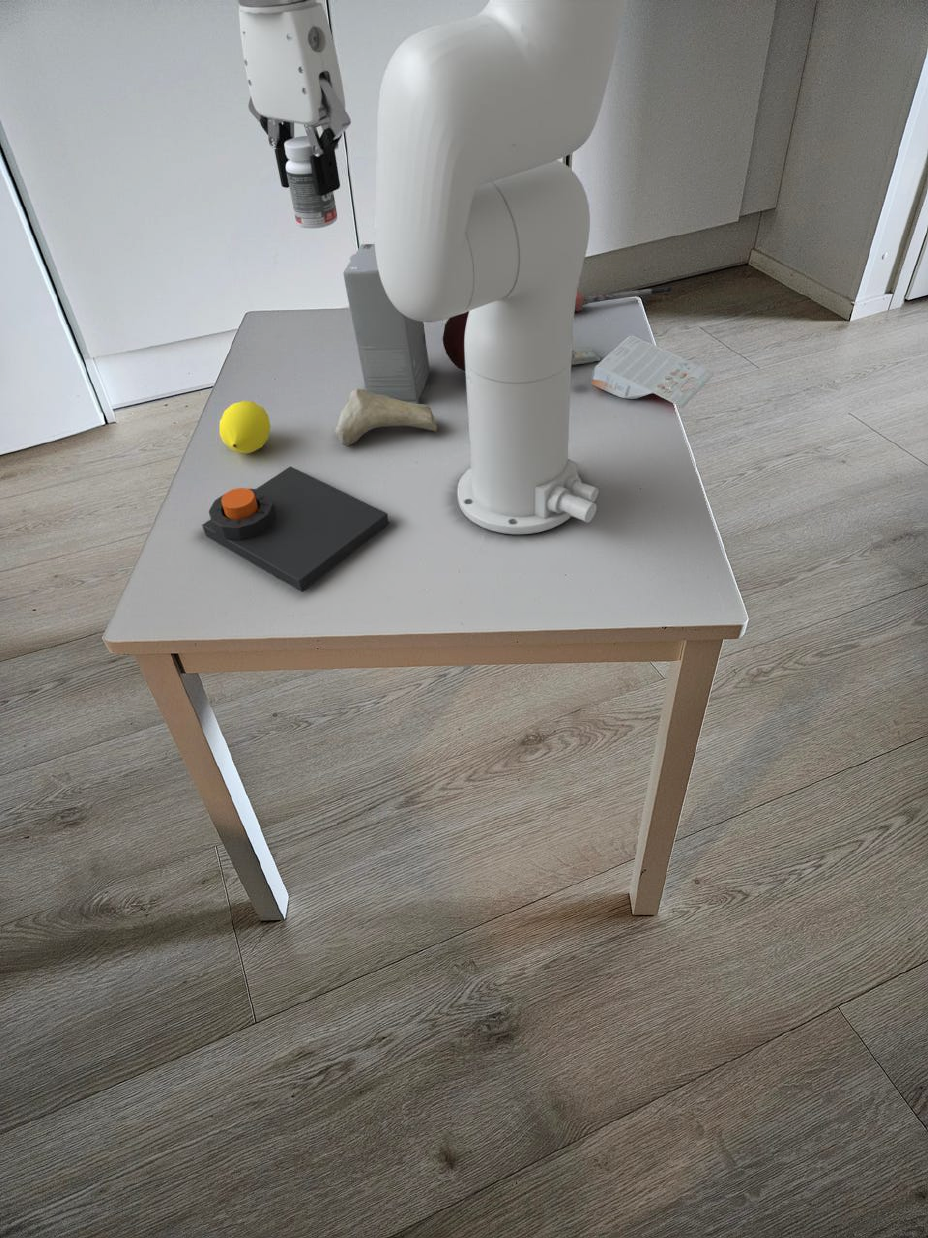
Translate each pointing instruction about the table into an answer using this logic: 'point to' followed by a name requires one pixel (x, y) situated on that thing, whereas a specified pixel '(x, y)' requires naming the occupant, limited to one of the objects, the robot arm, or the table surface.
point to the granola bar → (583, 356)
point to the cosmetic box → (384, 333)
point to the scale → (297, 527)
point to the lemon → (244, 427)
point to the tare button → (239, 503)
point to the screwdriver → (615, 296)
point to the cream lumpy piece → (379, 415)
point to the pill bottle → (306, 187)
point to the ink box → (648, 372)
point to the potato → (455, 339)
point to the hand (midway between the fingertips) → (310, 185)
